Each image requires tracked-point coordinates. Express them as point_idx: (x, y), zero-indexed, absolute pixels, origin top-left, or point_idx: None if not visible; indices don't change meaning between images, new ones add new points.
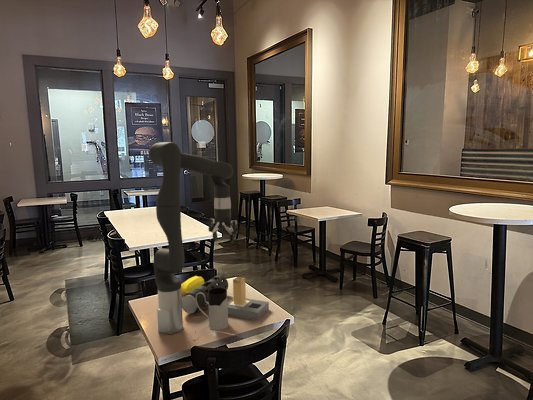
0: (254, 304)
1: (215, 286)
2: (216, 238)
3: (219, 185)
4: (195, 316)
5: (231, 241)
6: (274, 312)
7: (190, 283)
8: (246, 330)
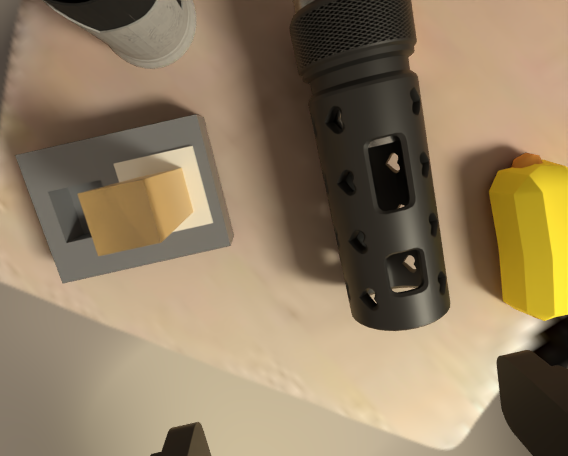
0: None
1: (347, 209)
2: (527, 426)
3: None
4: None
5: (170, 453)
6: (50, 268)
7: (539, 210)
8: (17, 56)
